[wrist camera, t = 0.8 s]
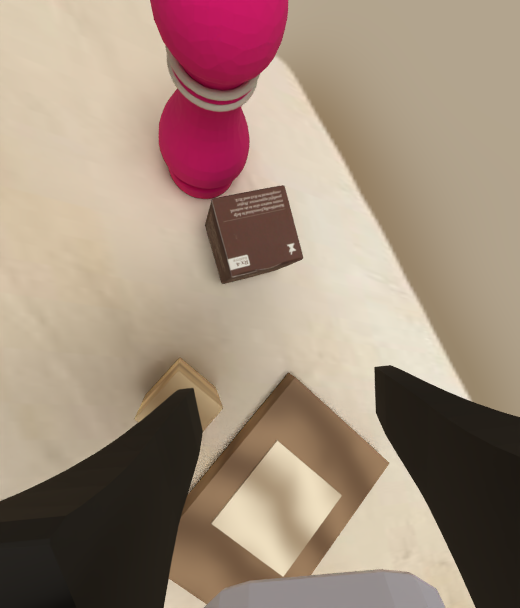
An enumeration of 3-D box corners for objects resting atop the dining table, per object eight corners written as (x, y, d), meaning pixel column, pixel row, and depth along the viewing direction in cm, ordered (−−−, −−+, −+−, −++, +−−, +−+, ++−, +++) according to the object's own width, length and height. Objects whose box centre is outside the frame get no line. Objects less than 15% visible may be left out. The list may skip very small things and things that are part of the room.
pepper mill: (236, 131, 29) (333, -209, 10) (242, 204, 30) (350, 8, 10) (159, 126, 28) (97, -296, 8) (166, 204, 28) (119, -33, 8)
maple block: (182, 425, 28) (182, 456, 22) (145, 395, 27) (134, 419, 21) (215, 387, 29) (223, 408, 23) (179, 357, 28) (178, 370, 22)
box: (262, 212, 30) (286, 183, 23) (277, 270, 30) (306, 259, 23) (203, 224, 29) (209, 197, 22) (220, 285, 29) (231, 278, 22)
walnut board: (258, 620, 29) (263, 644, 27) (147, 543, 27) (144, 563, 25) (377, 453, 33) (390, 464, 31) (288, 372, 30) (296, 377, 28)
